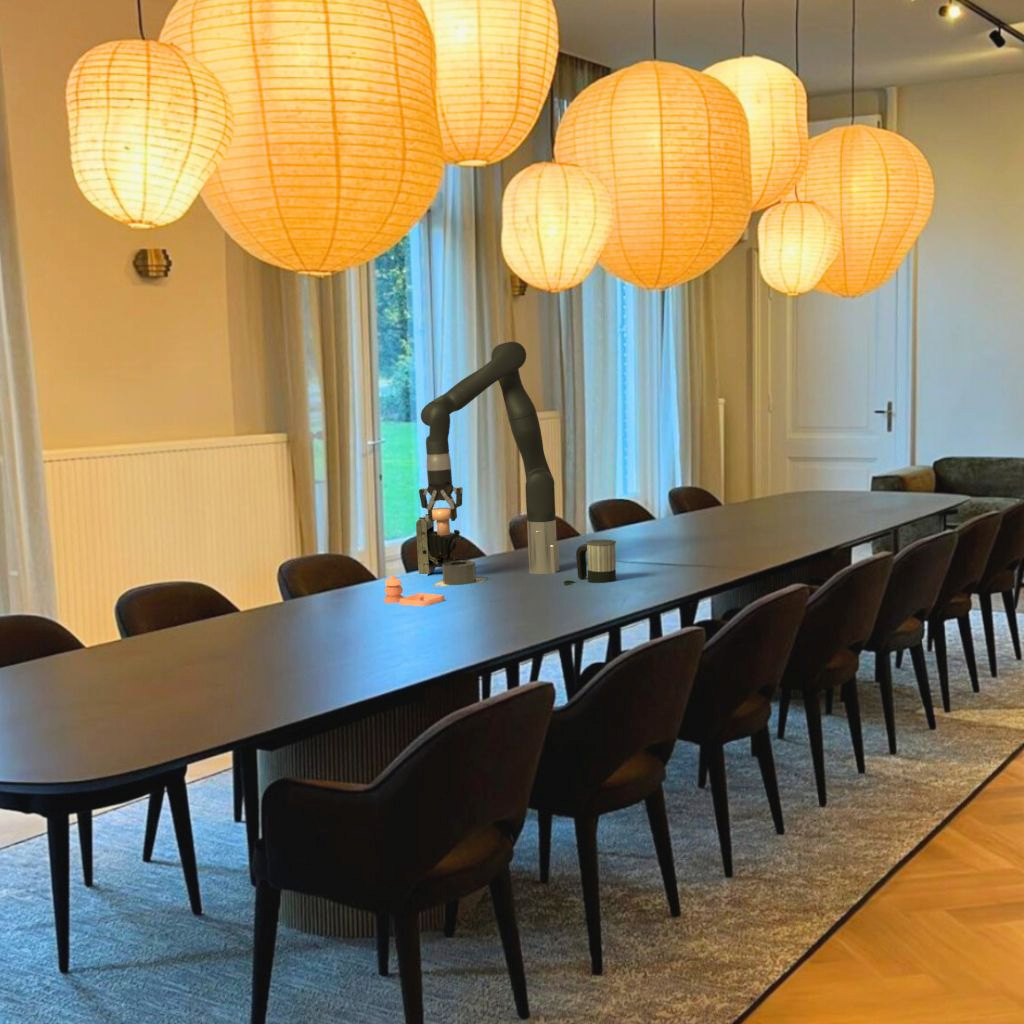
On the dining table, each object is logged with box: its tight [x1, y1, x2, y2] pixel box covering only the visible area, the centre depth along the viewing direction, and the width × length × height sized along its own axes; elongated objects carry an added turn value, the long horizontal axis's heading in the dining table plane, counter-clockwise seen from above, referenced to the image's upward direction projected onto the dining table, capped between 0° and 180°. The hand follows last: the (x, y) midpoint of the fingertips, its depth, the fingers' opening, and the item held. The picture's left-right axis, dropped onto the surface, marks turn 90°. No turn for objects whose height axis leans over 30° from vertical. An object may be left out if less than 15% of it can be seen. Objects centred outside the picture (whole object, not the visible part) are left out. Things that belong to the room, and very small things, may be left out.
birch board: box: [431, 577, 488, 587], centre depth 414 cm, size 14×14×2 cm
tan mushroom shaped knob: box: [432, 507, 451, 535], centre depth 413 cm, size 6×6×8 cm
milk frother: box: [563, 538, 617, 587], centre depth 398 cm, size 14×16×15 cm
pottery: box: [382, 574, 445, 607], centre depth 382 cm, size 18×10×10 cm, turn 57°
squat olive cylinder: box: [441, 560, 477, 586], centre depth 413 cm, size 10×10×6 cm
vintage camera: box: [415, 513, 470, 575], centre depth 435 cm, size 10×15×20 cm, turn 78°
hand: (442, 520), depth 413 cm, fingers closed on tan mushroom shaped knob, 6 cm apart
